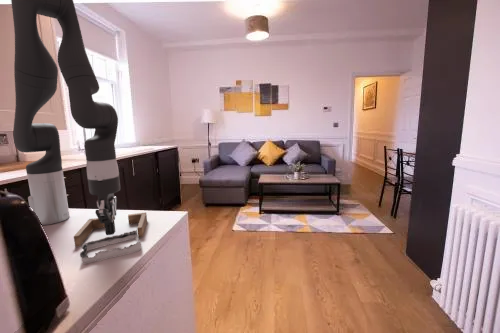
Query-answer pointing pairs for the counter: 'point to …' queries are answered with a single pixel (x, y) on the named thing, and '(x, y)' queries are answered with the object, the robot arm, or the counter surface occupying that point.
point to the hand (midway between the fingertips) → (110, 233)
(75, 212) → the counter surface
